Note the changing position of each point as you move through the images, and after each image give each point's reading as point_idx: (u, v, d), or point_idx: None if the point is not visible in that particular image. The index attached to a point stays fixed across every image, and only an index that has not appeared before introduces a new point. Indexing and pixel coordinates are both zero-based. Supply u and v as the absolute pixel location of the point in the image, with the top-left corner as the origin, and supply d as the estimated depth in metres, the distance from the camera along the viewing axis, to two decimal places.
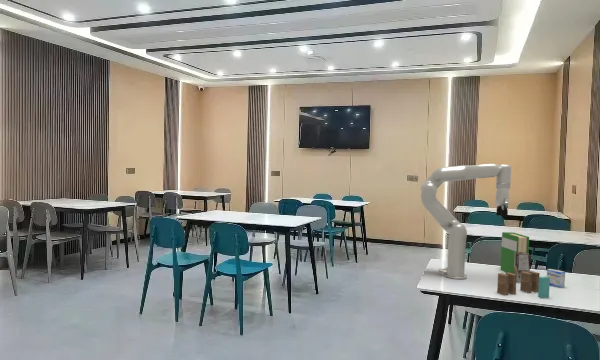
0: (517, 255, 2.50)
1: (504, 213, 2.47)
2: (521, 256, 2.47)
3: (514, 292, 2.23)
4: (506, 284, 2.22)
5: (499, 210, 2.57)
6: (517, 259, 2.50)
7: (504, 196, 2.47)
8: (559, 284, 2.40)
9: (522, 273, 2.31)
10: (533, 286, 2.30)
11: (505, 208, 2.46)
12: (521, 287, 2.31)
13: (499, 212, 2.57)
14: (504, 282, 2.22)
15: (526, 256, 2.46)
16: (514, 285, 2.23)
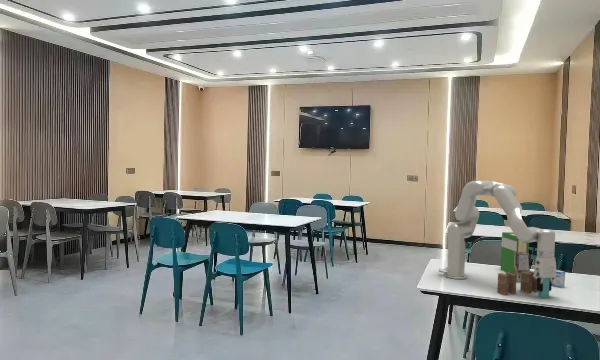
0: (517, 255, 2.50)
1: None
2: (521, 256, 2.47)
3: (514, 292, 2.23)
4: (506, 284, 2.21)
5: None
6: (517, 259, 2.50)
7: None
8: (560, 284, 2.40)
9: (522, 273, 2.31)
10: (533, 286, 2.30)
11: None
12: (521, 287, 2.31)
13: None
14: (504, 282, 2.22)
15: (526, 256, 2.46)
16: (514, 285, 2.23)
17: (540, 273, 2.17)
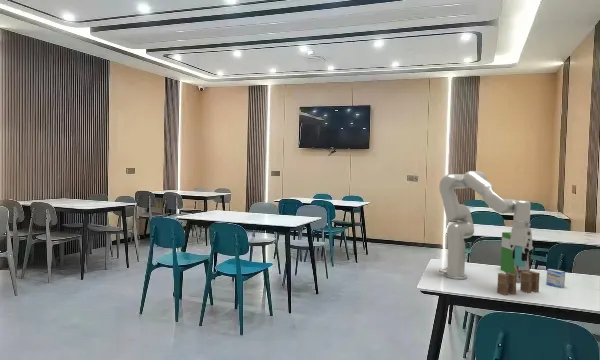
0: None
1: None
2: None
3: (514, 292, 2.23)
4: (506, 284, 2.22)
5: None
6: None
7: None
8: (560, 284, 2.40)
9: (522, 273, 2.31)
10: (533, 286, 2.30)
11: None
12: (521, 287, 2.31)
13: None
14: (504, 282, 2.22)
15: None
16: (514, 285, 2.23)
17: (531, 243, 2.23)
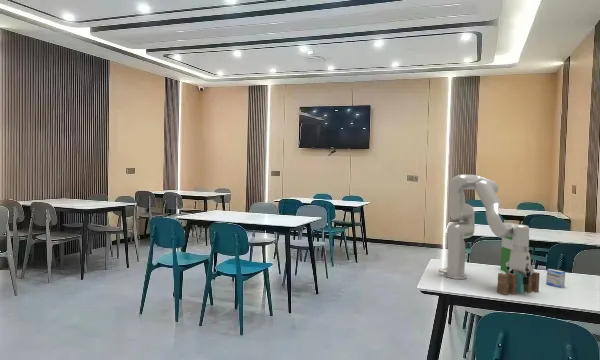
0: None
1: None
2: None
3: (514, 292, 2.23)
4: (506, 284, 2.22)
5: None
6: None
7: None
8: (560, 284, 2.40)
9: (522, 273, 2.31)
10: (533, 286, 2.30)
11: None
12: None
13: None
14: (504, 282, 2.22)
15: None
16: (514, 285, 2.23)
17: None
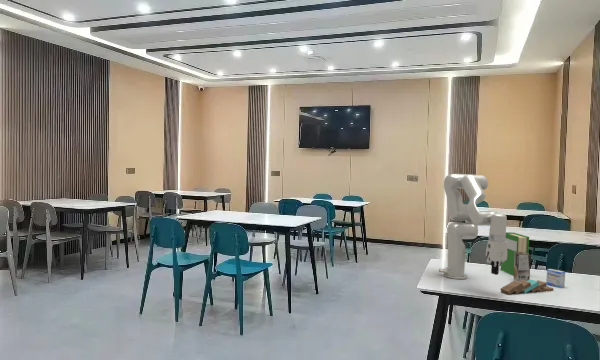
0: (517, 255, 2.50)
1: None
2: (521, 256, 2.47)
3: (517, 291, 2.24)
4: (516, 287, 2.24)
5: None
6: (517, 259, 2.50)
7: None
8: (560, 284, 2.40)
9: (538, 281, 2.35)
10: None
11: None
12: None
13: None
14: (516, 285, 2.24)
15: (526, 256, 2.46)
16: (522, 288, 2.25)
17: (490, 256, 2.19)
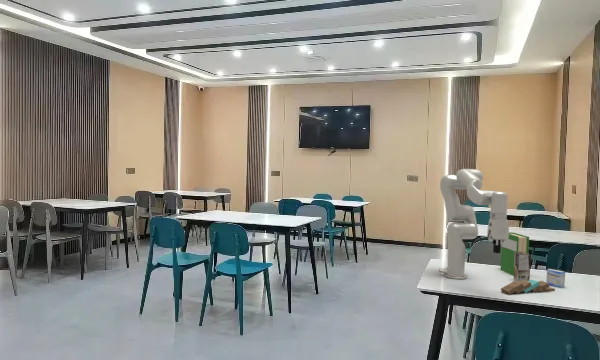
0: (517, 255, 2.50)
1: None
2: (521, 256, 2.47)
3: (518, 291, 2.25)
4: (516, 288, 2.24)
5: None
6: (517, 259, 2.50)
7: None
8: (560, 284, 2.40)
9: (541, 281, 2.34)
10: None
11: None
12: None
13: None
14: (517, 285, 2.24)
15: (526, 256, 2.46)
16: (523, 288, 2.26)
17: (492, 234, 2.18)
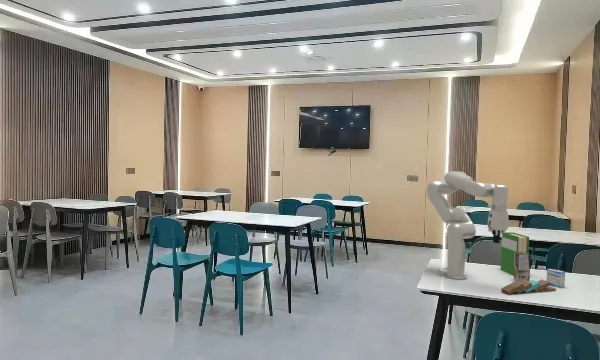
0: (517, 255, 2.50)
1: None
2: (521, 256, 2.47)
3: (518, 291, 2.25)
4: (516, 288, 2.24)
5: None
6: (517, 259, 2.50)
7: None
8: (560, 284, 2.40)
9: (541, 280, 2.35)
10: None
11: None
12: None
13: None
14: (517, 285, 2.24)
15: (526, 256, 2.46)
16: (524, 288, 2.26)
17: (492, 225, 2.30)
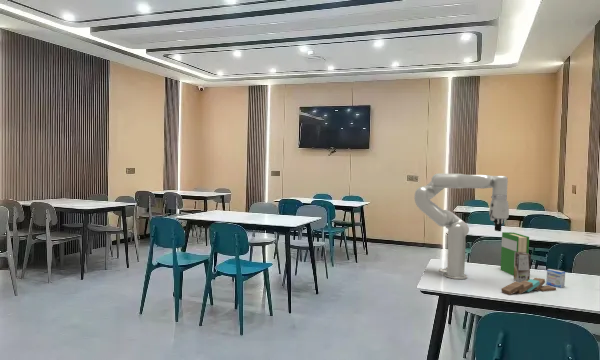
0: (517, 255, 2.50)
1: None
2: (521, 256, 2.47)
3: (520, 291, 2.25)
4: (517, 288, 2.24)
5: None
6: (517, 259, 2.50)
7: None
8: (560, 284, 2.40)
9: (535, 278, 2.39)
10: (543, 288, 2.33)
11: None
12: None
13: None
14: (517, 286, 2.24)
15: (526, 256, 2.46)
16: (525, 288, 2.26)
17: (494, 214, 2.42)
